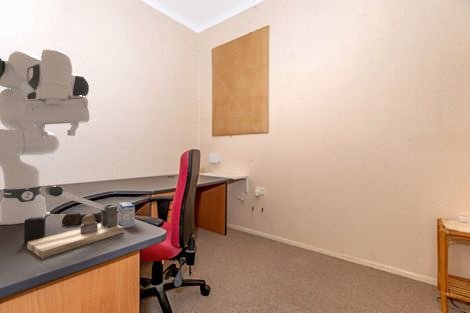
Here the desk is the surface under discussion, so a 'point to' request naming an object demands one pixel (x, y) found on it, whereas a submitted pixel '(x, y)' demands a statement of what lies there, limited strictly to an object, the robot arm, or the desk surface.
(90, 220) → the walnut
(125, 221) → the medicine box
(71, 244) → the cracker base
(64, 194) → the lever
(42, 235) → the ink cartridge
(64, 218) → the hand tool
